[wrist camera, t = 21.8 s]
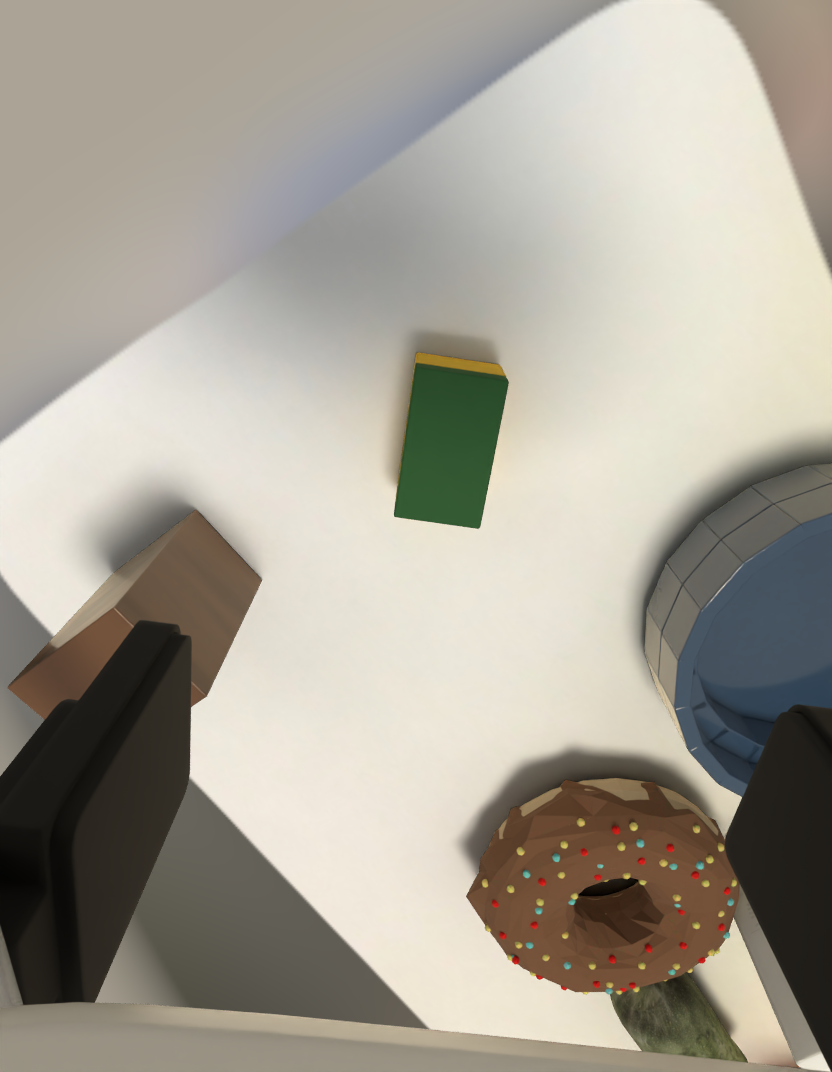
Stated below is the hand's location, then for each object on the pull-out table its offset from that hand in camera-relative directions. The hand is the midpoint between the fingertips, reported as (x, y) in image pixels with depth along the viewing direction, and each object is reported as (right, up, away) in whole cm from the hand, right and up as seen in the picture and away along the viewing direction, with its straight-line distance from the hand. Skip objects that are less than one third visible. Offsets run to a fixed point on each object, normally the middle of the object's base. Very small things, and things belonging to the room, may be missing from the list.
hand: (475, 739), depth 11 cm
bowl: (+18, 0, +22) cm, 28 cm away
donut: (+9, -14, +28) cm, 33 cm away
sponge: (0, +8, +19) cm, 20 cm away
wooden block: (-12, +1, +22) cm, 25 cm away
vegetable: (+15, -26, +33) cm, 45 cm away
